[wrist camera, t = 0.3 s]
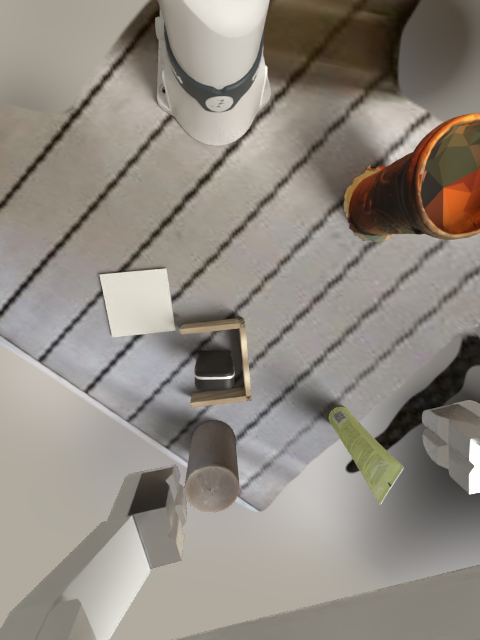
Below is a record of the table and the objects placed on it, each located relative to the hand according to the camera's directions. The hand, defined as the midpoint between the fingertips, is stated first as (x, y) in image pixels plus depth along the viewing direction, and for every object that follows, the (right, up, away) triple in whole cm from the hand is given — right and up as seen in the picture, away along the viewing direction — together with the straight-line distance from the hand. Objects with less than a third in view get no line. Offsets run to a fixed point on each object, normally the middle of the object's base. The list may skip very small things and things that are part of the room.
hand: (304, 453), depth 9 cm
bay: (-7, -4, +48) cm, 49 cm away
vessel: (+24, +26, +44) cm, 57 cm away
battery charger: (-7, -4, +48) cm, 49 cm away
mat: (-21, +8, +44) cm, 50 cm away
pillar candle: (-8, -22, +52) cm, 57 cm away
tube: (+20, -17, +54) cm, 60 cm away
